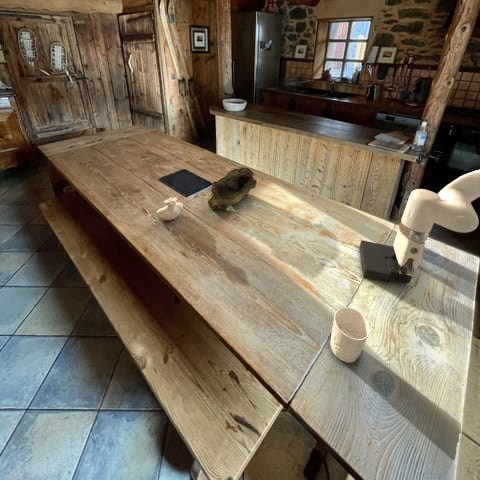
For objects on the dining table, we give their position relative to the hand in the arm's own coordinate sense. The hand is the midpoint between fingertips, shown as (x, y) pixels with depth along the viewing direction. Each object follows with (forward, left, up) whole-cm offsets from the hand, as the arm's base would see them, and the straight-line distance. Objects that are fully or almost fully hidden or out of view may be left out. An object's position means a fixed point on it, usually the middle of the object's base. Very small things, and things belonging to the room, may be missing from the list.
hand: (396, 272), depth 86 cm
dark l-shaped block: (+3, -4, -2) cm, 5 cm away
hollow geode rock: (+64, -26, -2) cm, 69 cm away
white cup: (+17, +28, -2) cm, 33 cm away
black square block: (0, 0, -1) cm, 1 cm away
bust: (+85, -5, -2) cm, 85 cm away
